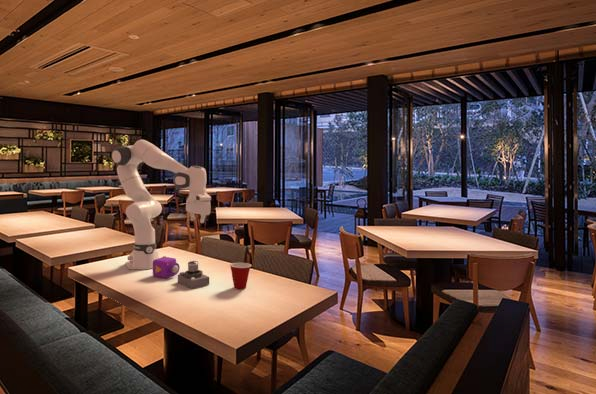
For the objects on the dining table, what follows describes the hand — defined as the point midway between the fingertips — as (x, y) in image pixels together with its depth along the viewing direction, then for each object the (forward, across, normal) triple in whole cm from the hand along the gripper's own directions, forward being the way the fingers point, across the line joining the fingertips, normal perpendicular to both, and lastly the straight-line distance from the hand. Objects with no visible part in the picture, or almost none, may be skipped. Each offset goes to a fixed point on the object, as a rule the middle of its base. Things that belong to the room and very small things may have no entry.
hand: (197, 221), depth 201 cm
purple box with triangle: (+31, -10, -12) cm, 34 cm away
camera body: (+30, +11, -8) cm, 33 cm away
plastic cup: (+30, +32, +6) cm, 44 cm away
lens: (+26, +11, -8) cm, 29 cm away
